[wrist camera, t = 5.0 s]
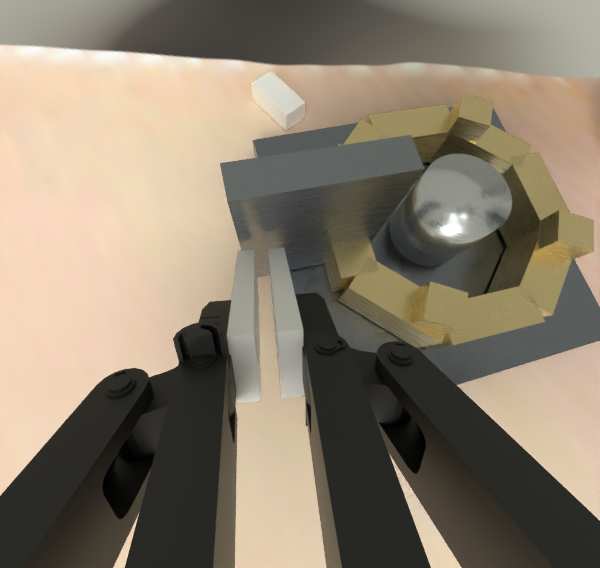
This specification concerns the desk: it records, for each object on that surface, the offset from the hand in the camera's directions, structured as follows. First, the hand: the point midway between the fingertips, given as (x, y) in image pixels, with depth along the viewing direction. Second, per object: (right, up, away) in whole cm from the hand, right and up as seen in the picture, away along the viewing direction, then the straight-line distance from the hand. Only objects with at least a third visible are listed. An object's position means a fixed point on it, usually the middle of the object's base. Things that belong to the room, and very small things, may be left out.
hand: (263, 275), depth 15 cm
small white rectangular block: (0, +14, +10) cm, 17 cm away
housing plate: (+10, +3, +7) cm, 13 cm away
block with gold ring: (+8, +3, +6) cm, 10 cm away
